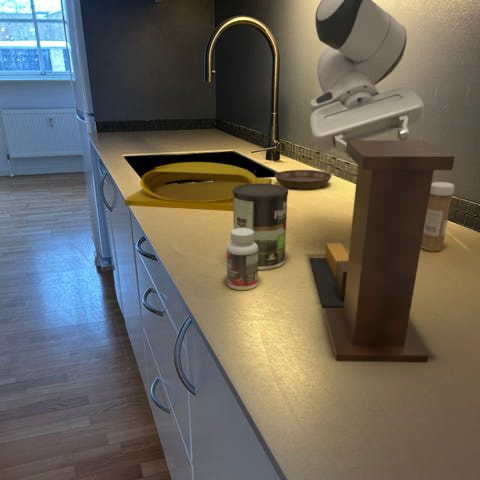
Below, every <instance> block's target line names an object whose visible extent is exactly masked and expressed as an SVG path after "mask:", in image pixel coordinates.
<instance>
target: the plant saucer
mask: <svg viewBox="0 0 480 480" xmlns="http://www.w3.org/2000/svg"><path fill="white" fill-rule="evenodd" d="M274 177H275V179H276V181H277V182H278V183H279V184H280V186H284V187H286V188H288V189H289V188H290V189H297V190H298V189H300V190H306V189H307V190H309V189H318V188H322V187H324V186H326V185H327V184H328V182H329V181H330V180H331V178H332V177H333V175H332V174H331V173H330V172H327V171H324V170H323V171H322V170H314V169H291V170H290V169H289V170H282V171H279V172H276V173H275V174H274Z"/></svg>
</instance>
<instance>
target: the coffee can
mask: <svg viewBox="0 0 480 480" xmlns="http://www.w3.org/2000/svg"><path fill="white" fill-rule="evenodd" d="M232 195H233V212H232V213H233V229H237V228H248V229H251V230H253V231H254V241H253V242H255V243H256V244H257V245H258V271H268V270H274V269H277V268H281V267H282V266H284V264H285V263H286V241H287V240H286V238H287V217H288V214H287V213H288V195H289V188H288V187H285V186H282V185H281V184H280V185H279V184H274V183H271V184H265V183H256V184H250V183H245V184H241V185H237V186H235V187H233V188H232Z"/></svg>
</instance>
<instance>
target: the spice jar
mask: <svg viewBox="0 0 480 480" xmlns="http://www.w3.org/2000/svg"><path fill="white" fill-rule="evenodd" d="M454 192H455V184H454V183H451V182H447V181H434V182H433V181H432V184H431V190H430V196H429V202H428V208H427V214H426V220H425V226H424V232H423V238H422V244H421V249H422V250H423V251H427V252H441V251H442V250H443V249H444V241H445V236H446V232H447V226H448V219H449V212H450V208H451V200H452V197H453V194H454Z"/></svg>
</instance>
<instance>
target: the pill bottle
mask: <svg viewBox="0 0 480 480" xmlns="http://www.w3.org/2000/svg"><path fill="white" fill-rule="evenodd" d="M229 237H230V238H229V239H230V242H229V243H228V244H227V245H226V282H227V283H226V284H227V286H228V287H229V288H231V289H232V290H237V291H249V290H252V289H254V288H256V287H257V286H258V280H259V270H258V245H257V244H256V243H255V242H253V241H254V231H253V230H251V229H248V228H237V229H234V228H233V229H231V230H230V236H229Z"/></svg>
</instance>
